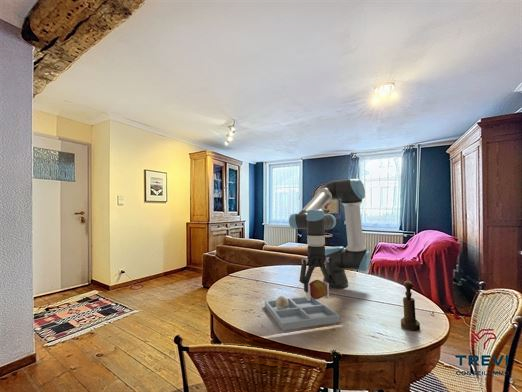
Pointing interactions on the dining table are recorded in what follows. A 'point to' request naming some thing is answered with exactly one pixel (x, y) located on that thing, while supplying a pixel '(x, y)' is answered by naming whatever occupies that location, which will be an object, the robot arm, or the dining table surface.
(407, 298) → the dark tall piece
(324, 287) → the apple
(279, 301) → the wooden ball
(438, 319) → the dining table surface
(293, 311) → the tray
